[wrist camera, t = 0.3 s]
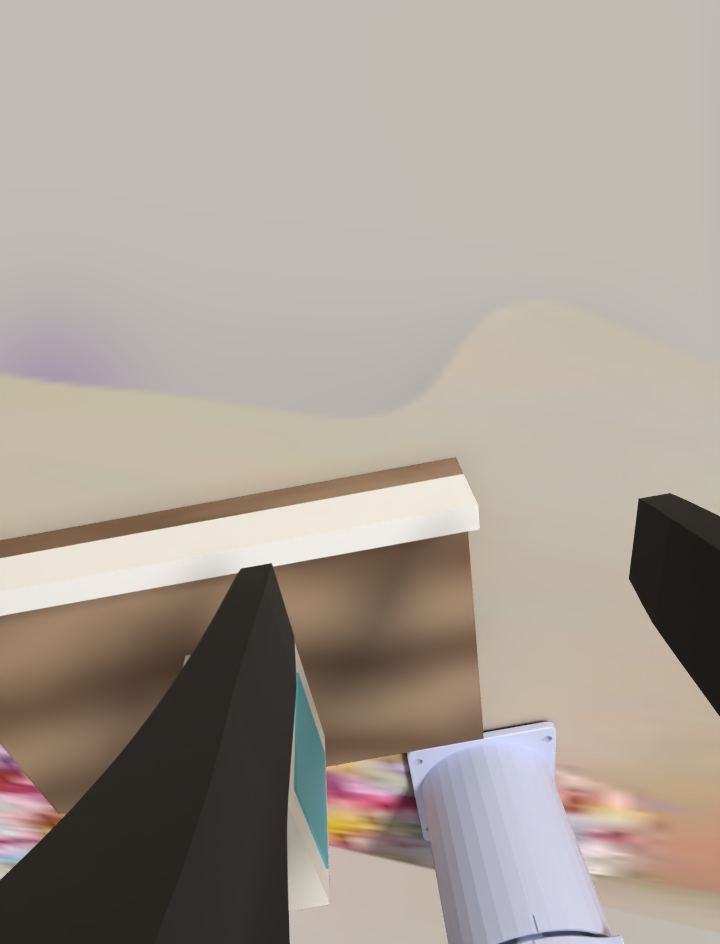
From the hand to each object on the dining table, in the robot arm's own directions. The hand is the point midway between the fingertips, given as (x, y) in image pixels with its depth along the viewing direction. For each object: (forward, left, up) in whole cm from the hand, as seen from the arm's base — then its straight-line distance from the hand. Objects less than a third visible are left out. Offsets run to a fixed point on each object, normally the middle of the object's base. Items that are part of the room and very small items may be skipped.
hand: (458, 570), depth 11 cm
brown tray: (-11, +9, -10) cm, 18 cm away
